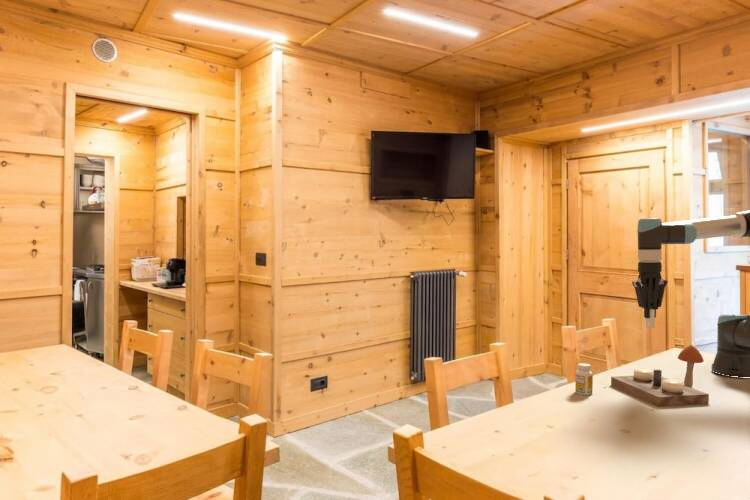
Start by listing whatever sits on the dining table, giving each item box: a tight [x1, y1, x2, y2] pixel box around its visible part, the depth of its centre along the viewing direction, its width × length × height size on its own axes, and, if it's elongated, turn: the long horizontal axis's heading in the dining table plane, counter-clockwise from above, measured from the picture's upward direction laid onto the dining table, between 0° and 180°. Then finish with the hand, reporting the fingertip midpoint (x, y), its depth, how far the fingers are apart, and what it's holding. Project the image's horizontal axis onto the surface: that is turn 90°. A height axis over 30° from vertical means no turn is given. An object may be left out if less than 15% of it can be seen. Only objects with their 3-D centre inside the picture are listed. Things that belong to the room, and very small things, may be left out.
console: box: [610, 375, 710, 408], centre depth 179 cm, size 18×24×3 cm
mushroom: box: [677, 344, 705, 388], centre depth 187 cm, size 8×8×15 cm
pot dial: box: [653, 368, 662, 386], centre depth 179 cm, size 2×2×5 cm
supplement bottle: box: [575, 362, 594, 396], centre depth 180 cm, size 5×5×10 cm
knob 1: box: [633, 368, 654, 382], centre depth 186 cm, size 6×6×6 cm
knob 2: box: [662, 379, 684, 394], centre depth 172 cm, size 6×6×6 cm
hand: (650, 327), depth 190 cm, fingers closed
